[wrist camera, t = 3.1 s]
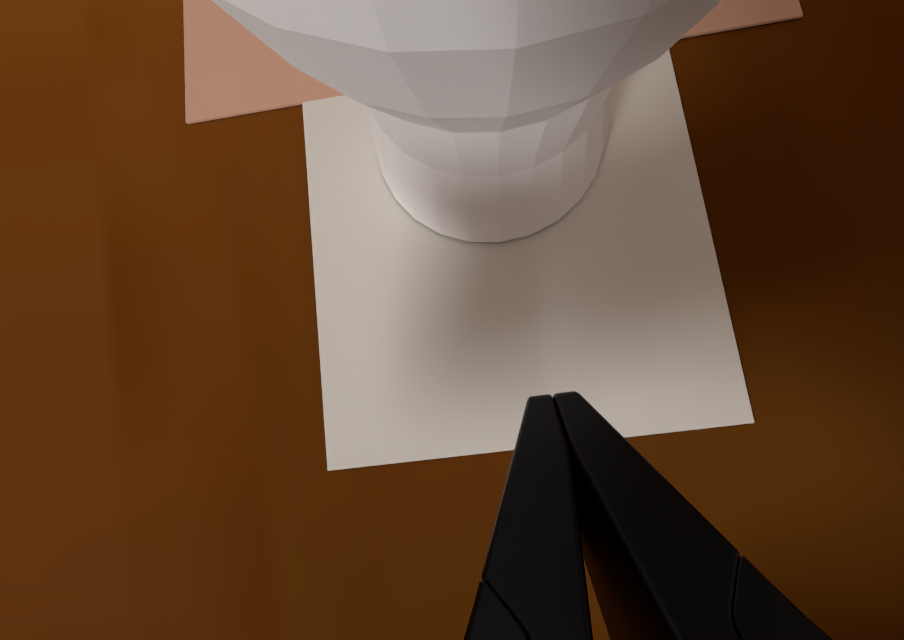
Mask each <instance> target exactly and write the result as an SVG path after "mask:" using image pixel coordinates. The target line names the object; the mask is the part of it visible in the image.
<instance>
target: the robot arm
mask: <svg viewBox="0 0 904 640" xmlns="http://www.w3.org/2000/svg"><path fill="white" fill-rule="evenodd" d="M583 557H584V559H583ZM584 560H585V563H586V566H587V569H588V572H589V575H590V578H591V582H592V585H593V588H594V591H595V594H596V597H597V600H598V603H599V606H600V609H601V612H602V615H603V618H604V621H605V624H606V627H607V630H608V633H609V637H610V640H832V639H831V638H830V637H829V636H828V635H827V634H825V633H824V632H823V631H822V630H821V629H820V628H818V627H817V626H816V625H815V624H814V623H813V622H812V621H810V620H809V619H808V618H807V617H806V616H805V615H804V614H803V613H802V612H801V611H800V610H799V609H798V608H797V607H796V606H795V605H794V604H792V603H791V602H790V601H789V600H788V599H787V598H786V597H785V596H784V595H783V594H782V593H781V592H780V591H779V590H778V589H777V588H776V587H775V586H773V585H772V584H771V583H770V582H769V581H768V580H767V579H766V578H765V577H764V576H763V575H762V574H761V573H760V572H759V571H758V570H757V569H756V568H755V567H754V566H753V565H752V564H751V563H750V562H749V561H748V560H747V559H746V558H745V557H744V556H740V557H739V552H738V550H737V549H736V548H735V547H734V546H733V545H732V544H731V543H730V542H729V541H728V540H727V539H726V538H725V537H724V536H723V535H722V534H721V533H720V532H719V531H718V530H717V529H716V528H715V527H714V526H713V525H712V524H711V523H710V522H709V521H708V520H707V519H706V518H705V517H704V516H703V515H702V514H701V513H700V512H699V511H698V510H697V509H695V508H694V507H693V506H692V505H691V504H690V503H689V502H688V501H687V500H686V499H685V498H684V497H683V496H682V495H681V494H680V493H679V492H678V491H677V490H676V489H675V488H674V487H673V486H672V485H671V484H670V483H669V482H668V481H667V480H666V479H665V478H664V477H663V476H662V475H661V474H660V473H659V472H658V471H657V470H656V469H655V468H654V467H653V466H652V465H651V464H650V463H649V462H648V461H647V460H646V459H645V458H644V457H643V456H642V455H641V454H640V453H639V452H638V451H637V450H636V449H635V448H634V447H633V446H632V445H631V444H630V443H629V442H628V441H627V440H626V439H625V438H624V437H623V436H622V435H621V434H620V433H619V432H618V431H617V430H616V429H615V428H614V427H613V426H612V425H611V424H610V423H609V422H608V421H607V420H606V419H605V418H604V417H603V416H602V415H601V414H600V413H599V412H598V411H597V410H596V409H595V408H594V407H593V406H592V405H591V404H590V403H589V402H588V401H587V400H586V399H584V398H583V397H582V396H581V395H580V394H579V393H578V392H576V391H570V392H562V393H556V394H554V395H553V397H552V396H551V395H550V394H545V395H537V396H530V397H529V398H528V399H527V403H526V406H525V410H524V414H523V418H522V422H521V426H520V430H519V433H518V437H517V441H516V445H515V449H514V453H513V457H512V460H511V464H510V468H509V472H508V476H507V480H506V484H505V487H504V491H503V495H502V499H501V503H500V507H499V511H498V514H497V518H496V522H495V526H494V530H493V534H492V537H491V541H490V545H489V549H488V553H487V557H486V561H485V564H484V568H483V572H482V581H480V583H479V586H478V590H477V594H476V598H475V602H474V605H473V609H472V613H471V616H470V619H469V623H468V626H467V630H466V633H465V636H464V640H593V635H592V627H591V618H590V610H589V601H588V593H587V585H586V576H585V568H584Z"/></svg>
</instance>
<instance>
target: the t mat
mask: <svg viewBox="0 0 904 640" xmlns="http://www.w3.org/2000/svg"><path fill="white" fill-rule="evenodd" d="M183 4H184V56H185V109H186V123H187V124H191V123H197V122H203V121H209V120H214V119H220V118H226V117H232V116H238V115H243V114H249V113H255V112H261V111H266V110H272V109H278V108H284V107H289V106H295V105H301V104H303V118H304V133H305V147H306V162H307V176H308V191H309V206H310V220H311V235H312V249H313V264H314V279H315V293H316V308H317V322H318V337H319V351H320V366H321V381H322V395H323V410H324V424H325V439H326V454H327V468H328V471H330V470H339V469H348V468H357V467H366V466H375V465H384V464H392V463H401V462H410V461H419V460H428V459H437V458H446V457H455V456H464V455H473V454H481V453H490V452H499V451H508V450H514V449H515V445H516V441H517V437H518V433H519V430H520V426H521V422H522V418H523V414H524V410H525V406H526V403H527V399H528V398H529V397H530V396H537V395H545V394H550V395H551V396H552V397H553V395H554V394H556V393H562V392H570V391H576V392H578V393H579V394H580V395H581V396H582V397H583V398H584V399H586V400H587V401H588V402H589V403H590V404H591V405H592V406H593V407H594V408H595V409H596V410H597V411H598V412H599V413H600V414H601V415H602V416H603V417H604V418H605V419H606V420H607V421H608V422H609V423H610V424H611V425H612V426H613V427H614V428H615V429H616V430H617V431H618V432H619V433H620V434H621V435H622V436H623V437H633V436H642V435H650V434H659V433H668V432H677V431H686V430H695V429H704V428H713V427H722V426H731V425H739V424H748V423H754V419H753V414H752V410H751V406H750V401H749V397H748V392H747V388H746V384H745V379H744V375H743V371H742V366H741V362H740V357H739V353H738V349H737V344H736V340H735V336H734V331H733V327H732V322H731V318H730V314H729V309H728V305H727V301H726V296H725V292H724V287H723V283H722V279H721V274H720V270H719V266H718V261H717V257H716V252H715V248H714V244H713V239H712V235H711V231H710V226H709V222H708V217H707V213H706V209H705V204H704V200H703V196H702V191H701V187H700V182H699V178H698V174H697V169H696V165H695V161H694V156H693V152H692V147H691V143H690V139H689V134H688V130H687V126H686V121H685V117H684V113H683V108H682V104H681V99H680V95H679V91H678V86H677V82H676V78H675V73H674V69H673V64H672V60H671V56H670V51H669V49H668V50H667V51H666V52H665V53H664V54H663V55H662V56H661V57H660V58H658V59H657V60H655V61H654V62H652V63H650V64H648V65H646V66H645V67H643V68H641V69H639V70H638V71H636V72H634V73H632V74H631V75H629V76H627V77H625V78H624V79H622V80H620V81H618V82H617V83H616V85H615V86H614V88H613V90H612V96H611V106H610V116H609V125H608V130H607V135H606V140H605V145H604V149H603V153H602V156H601V159H600V163H599V166H598V170H597V173H596V176H595V177H594V179H593V180H592V182H591V184H590V185H589V187H588V188H587V190H586V191H585V193H584V195H583V196H582V198H581V199H580V201H578V202H577V203H576V204H575V205H574V206H573V207H572V208H571V209H570V210H569V211H568V212H566V213H565V214H564V215H563V216H562V217H561V218H560V219H559V220H558V221H556V222H554V223H552V224H550V225H548V226H546V227H544V228H543V229H541V230H539V231H537V232H535V233H533V234H531V235H528V236H524V237H520V238H516V239H511V240H507V241H503V242H468V241H464V240H460V239H457V238H453V237H450V236H446V235H442V234H439V233H438V232H436V231H434V230H433V229H431V228H429V227H427V226H426V225H424V224H422V223H421V222H419V221H417V220H415V219H414V218H413V217H412V216H411V215H410V214H409V212H408V211H407V210H406V209H405V208H404V207H403V206H402V205H401V204H400V203H399V202H398V201H397V200H396V199H395V197H394V195H393V193H392V191H391V190H390V188H389V186H388V184H387V182H386V180H385V178H384V176H383V174H382V170H381V167H380V163H379V159H378V156H377V151H376V146H375V141H374V136H373V131H372V126H371V120H370V115H369V112H368V110H367V109H366V107H365V106H364V105H363V104H362V103H359V102H357V101H354V100H353V99H351V98H349V97H347V96H345V95H344V94H342V93H340V92H338V91H336V90H334V89H333V88H331V87H329V86H327V85H325V84H324V83H322V82H320V81H318V80H316V79H314V78H313V77H311V76H309V75H307V74H305V73H304V72H302V71H300V70H298V69H296V68H295V67H293V66H292V65H291V64H290V63H288V62H287V61H286V60H285V59H284V58H282V57H281V56H280V55H279V54H277V53H276V52H275V51H274V50H272V49H271V48H270V47H269V46H267V45H266V44H265V43H264V42H262V41H261V40H260V39H259V38H257V37H256V36H255V35H254V34H253V33H251V32H250V31H249V30H248V29H246V28H245V27H244V26H243V25H241V24H240V23H239V22H238V21H236V20H235V19H234V18H233V17H231V16H230V15H229V14H228V13H226V12H225V11H224V10H223V9H222V8H220V7H219V6H218V5H217V4H215V3H214V2H213V1H212V0H183ZM802 16H803V13H802V9H801V6H800V3H799V0H722V1H721V2H720V3H719V4H718V5H717V6H716V7H715V8H714V9H713V10H711V11H710V12H709V13H708V14H707V15H706V16H705V17H704V18H703V19H702V20H700V21H699V22H698V23H697V24H696V25H695V26H694V27H693V28H692V29H691V30H689V31H688V32H687V33H686V34H685V35H684V36H683V37H682V38H688V37H693V36H699V35H705V34H711V33H716V32H722V31H728V30H734V29H740V28H745V27H751V26H757V25H763V24H768V23H774V22H780V21H786V20H791V19H797V18H802ZM682 38H681V39H682Z"/></svg>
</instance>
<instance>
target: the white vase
mask: <svg viewBox="0 0 904 640" xmlns="http://www.w3.org/2000/svg"><path fill="white" fill-rule="evenodd" d="M212 1H213V2H214V3H215V4H217V5H218V6H219V7H220V8H222V9H223V10H224V11H225V12H226V13H228V14H229V15H230V16H231V17H233V18H234V19H235V20H236V21H238V22H239V23H240V24H241V25H243V26H244V27H245V28H246V29H248V30H249V31H250V32H251V33H253V34H254V35H255V36H256V37H257V38H259V39H260V40H261V41H262V42H264V43H265V44H266V45H267V46H269V47H270V48H271V49H272V50H274V51H275V52H276V53H277V54H279V55H280V56H281V57H282V58H284V59H285V60H286V61H287V62H288V63H290V64H291V65H292V66H293V67H295V68H296V69H298V70H300V71H302V72H304V73H305V74H307V75H309V76H311V77H313V78H314V79H316V80H318V81H320V82H322V83H324V84H325V85H327V86H329V87H331V88H333V89H334V90H336V91H338V92H340V93H342V94H344V95H345V96H347V97H349V98H351V99H353V100H354V101H357V102H359V103H362V104H363V105H364V106H365V107H366V109H367V110H368V112H369V115H370V120H371V126H372V131H373V136H374V141H375V146H376V151H377V156H378V159H379V163H380V167H381V170H382V174H383V176H384V178H385V180H386V182H387V184H388V186H389V188H390V190H391V191H392V193H393V195H394V197H395V199H396V200H397V201H398V202H399V203H400V204H401V205H402V206H403V207H404V208H405V209H406V210H407V211H408V212H409V214H410V215H411V216H412V217H413V218H414V219H415V220H417V221H419V222H421V223H422V224H424V225H426V226H427V227H429V228H431V229H433V230H434V231H436V232H438V233H439V234H442V235H446V236H450V237H453V238H457V239H460V240H464V241H468V242H503V241H507V240H511V239H516V238H520V237H524V236H528V235H531V234H533V233H535V232H537V231H539V230H541V229H543V228H544V227H546V226H548V225H550V224H552V223H554V222H556V221H558V220H559V219H560V218H561V217H562V216H563V215H564V214H565V213H566V212H568V211H569V210H570V209H571V208H572V207H573V206H574V205H575V204H576V203H577V202H578V201H580V199H581V198H582V196H583V195H584V193H585V191H586V190H587V188H588V187H589V185H590V184H591V182H592V180H593V179H594V177H595V176H596V173H597V170H598V166H599V163H600V159H601V156H602V153H603V149H604V145H605V140H606V135H607V130H608V125H609V116H610V106H611V96H612V90H613V88H614V86H615V85H616V83H617V82H618V81H620V80H622V79H624V78H625V77H627V76H629V75H631V74H632V73H634V72H636V71H638V70H639V69H641V68H643V67H645V66H646V65H648V64H650V63H652V62H654V61H655V60H657V59H658V58H660V57H661V56H662V55H663V54H664V53H665V52H666V51H667V50H668V49H670V48H671V47H672V46H673V45H674V44H675V43H676V42H677V41H678V40H679V39H681V38H682V37H683V36H684V35H685V34H686V33H687V32H688V31H689V30H691V29H692V28H693V27H694V26H695V25H696V24H697V23H698V22H699V21H700V20H702V19H703V18H704V17H705V16H706V15H707V14H708V13H709V12H710V11H711V10H713V9H714V8H715V7H716V6H717V5H718V4H719V3H720V2H721V1H722V0H212Z"/></svg>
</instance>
